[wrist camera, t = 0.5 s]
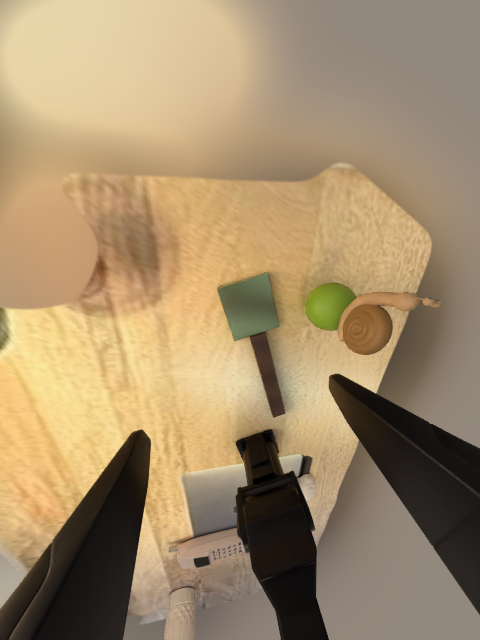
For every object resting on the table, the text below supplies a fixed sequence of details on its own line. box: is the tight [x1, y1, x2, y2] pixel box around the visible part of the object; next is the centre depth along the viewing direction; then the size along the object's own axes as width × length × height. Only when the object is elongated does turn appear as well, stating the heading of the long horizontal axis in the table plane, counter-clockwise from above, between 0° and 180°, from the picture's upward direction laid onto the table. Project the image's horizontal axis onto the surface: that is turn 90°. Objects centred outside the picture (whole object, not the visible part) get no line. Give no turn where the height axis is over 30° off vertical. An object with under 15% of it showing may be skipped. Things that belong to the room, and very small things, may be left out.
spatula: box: [217, 272, 285, 417], centre depth 26 cm, size 22×6×1 cm, turn 16°
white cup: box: [164, 588, 195, 640], centre depth 49 cm, size 8×8×10 cm
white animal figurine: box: [297, 474, 317, 503], centre depth 39 cm, size 9×12×3 cm
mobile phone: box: [169, 528, 245, 569], centre depth 42 cm, size 6×6×25 cm
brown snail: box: [306, 283, 441, 355], centre depth 19 cm, size 5×6×12 cm
